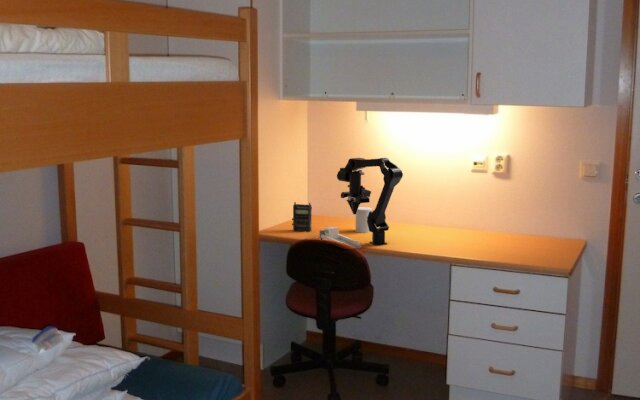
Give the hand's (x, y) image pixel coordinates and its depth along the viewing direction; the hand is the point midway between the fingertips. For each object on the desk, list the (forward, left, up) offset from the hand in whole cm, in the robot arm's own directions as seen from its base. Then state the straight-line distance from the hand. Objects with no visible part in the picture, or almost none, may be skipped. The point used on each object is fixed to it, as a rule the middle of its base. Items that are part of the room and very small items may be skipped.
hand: (354, 214), depth 357 cm
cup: (+12, -12, -12) cm, 21 cm away
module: (+1, +12, -11) cm, 16 cm away
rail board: (-7, +12, -12) cm, 18 cm away
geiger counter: (+26, +17, -12) cm, 33 cm away
